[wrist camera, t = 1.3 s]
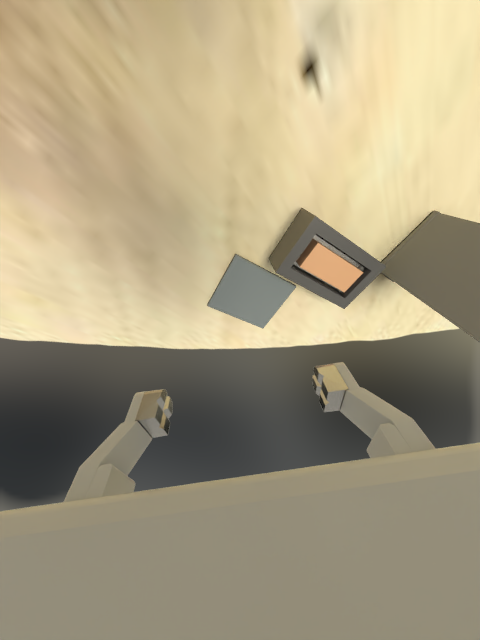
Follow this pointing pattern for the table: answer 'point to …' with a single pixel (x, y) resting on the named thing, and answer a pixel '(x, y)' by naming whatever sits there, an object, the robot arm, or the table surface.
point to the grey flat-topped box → (442, 268)
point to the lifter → (334, 252)
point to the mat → (250, 292)
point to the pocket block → (311, 225)
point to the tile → (328, 266)
